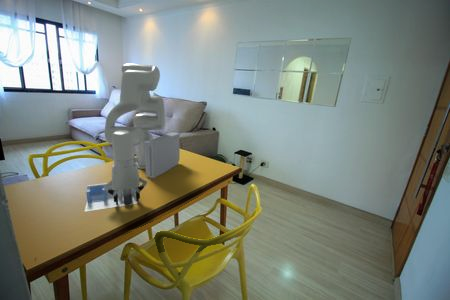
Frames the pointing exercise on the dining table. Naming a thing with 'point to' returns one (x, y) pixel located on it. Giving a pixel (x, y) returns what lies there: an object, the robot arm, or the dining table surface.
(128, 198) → the cylinder
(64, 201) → the dining table surface
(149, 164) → the game console
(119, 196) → the white holder rack
